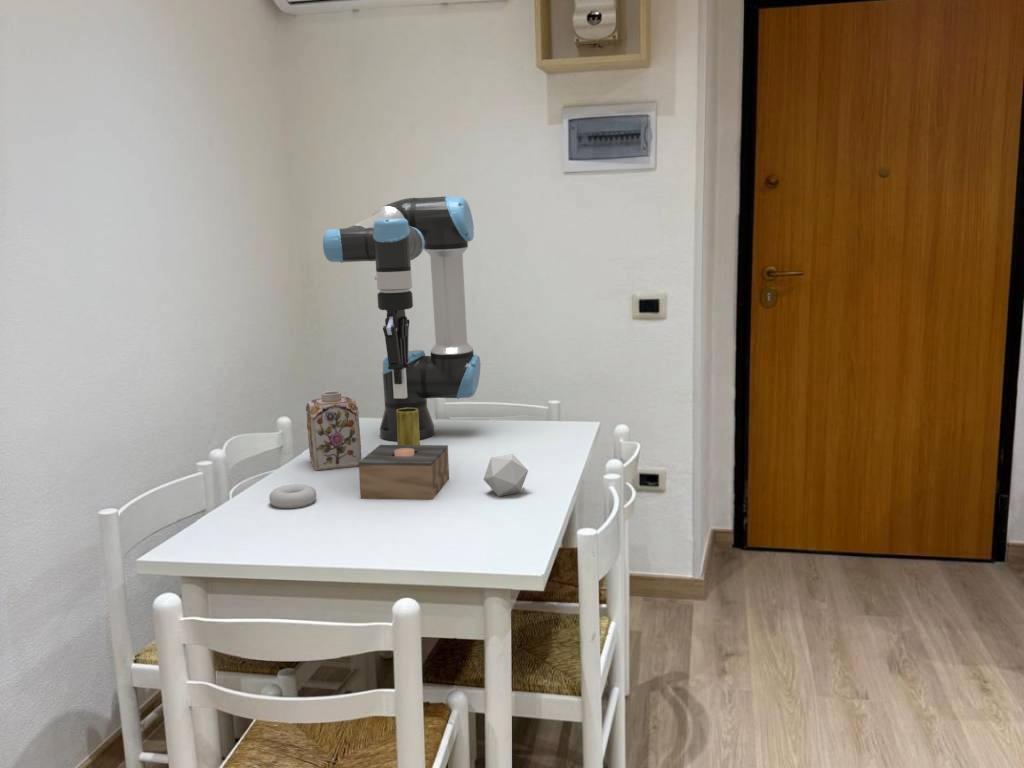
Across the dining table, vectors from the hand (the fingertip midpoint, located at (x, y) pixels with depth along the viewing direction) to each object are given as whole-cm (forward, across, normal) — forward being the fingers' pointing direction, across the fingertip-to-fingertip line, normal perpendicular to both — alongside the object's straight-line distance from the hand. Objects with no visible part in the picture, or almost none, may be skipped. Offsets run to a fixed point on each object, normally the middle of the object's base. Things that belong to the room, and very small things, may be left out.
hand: (400, 397), depth 212 cm
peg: (+19, +1, +1) cm, 19 cm away
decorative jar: (+21, -20, -23) cm, 37 cm away
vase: (+21, -17, -3) cm, 27 cm away
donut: (+21, +13, -21) cm, 32 cm away
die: (+21, +3, +24) cm, 31 cm away
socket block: (+20, +1, 0) cm, 20 cm away
